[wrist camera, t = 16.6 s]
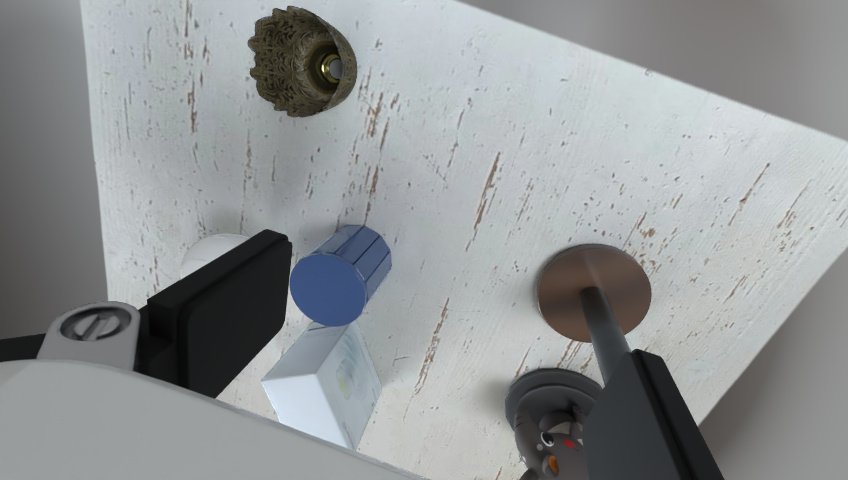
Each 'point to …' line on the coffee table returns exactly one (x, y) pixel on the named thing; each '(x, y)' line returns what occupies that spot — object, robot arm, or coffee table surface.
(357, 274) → the cup
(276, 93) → the cup
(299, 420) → the cosmetics box
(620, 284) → the towel holder
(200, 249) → the spinning top
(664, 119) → the coffee table surface
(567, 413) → the figurine
